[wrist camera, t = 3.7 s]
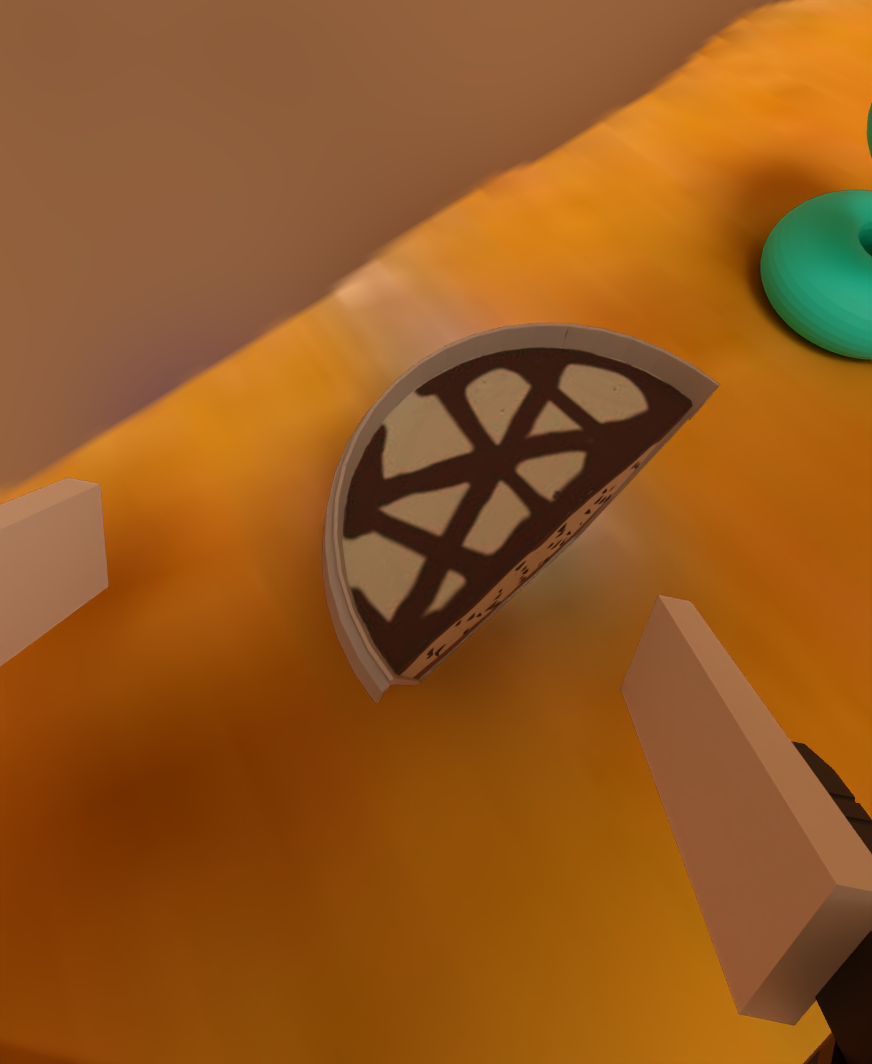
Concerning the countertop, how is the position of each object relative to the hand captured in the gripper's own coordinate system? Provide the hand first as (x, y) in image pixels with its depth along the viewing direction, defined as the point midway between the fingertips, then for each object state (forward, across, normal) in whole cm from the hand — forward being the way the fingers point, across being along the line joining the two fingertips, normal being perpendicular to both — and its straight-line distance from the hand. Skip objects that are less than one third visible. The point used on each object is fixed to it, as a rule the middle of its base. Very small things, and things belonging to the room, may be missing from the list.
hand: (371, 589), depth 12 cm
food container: (+10, +2, -3) cm, 10 cm away
